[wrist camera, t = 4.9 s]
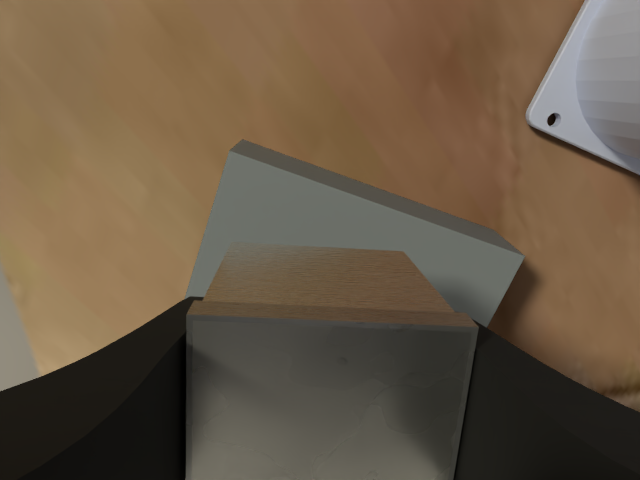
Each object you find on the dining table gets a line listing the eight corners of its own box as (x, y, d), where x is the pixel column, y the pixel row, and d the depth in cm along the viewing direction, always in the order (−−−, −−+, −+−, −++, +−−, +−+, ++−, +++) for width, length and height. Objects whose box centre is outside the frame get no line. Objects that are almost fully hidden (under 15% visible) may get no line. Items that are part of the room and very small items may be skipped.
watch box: (496, 229, 20) (532, 258, 17) (412, 395, 23) (429, 449, 20) (243, 138, 19) (229, 150, 16) (185, 326, 21) (162, 371, 18)
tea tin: (407, 247, 13) (478, 327, 8) (388, 405, 14) (439, 557, 9) (228, 238, 12) (186, 314, 8) (223, 400, 14) (185, 556, 9)
